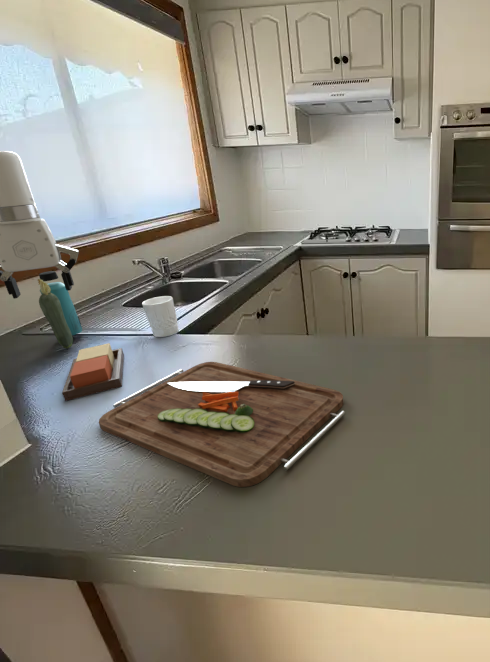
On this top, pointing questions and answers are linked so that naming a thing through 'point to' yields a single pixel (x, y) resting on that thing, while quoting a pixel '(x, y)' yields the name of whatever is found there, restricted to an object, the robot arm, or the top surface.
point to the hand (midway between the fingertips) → (43, 292)
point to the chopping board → (225, 420)
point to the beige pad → (96, 353)
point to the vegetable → (54, 315)
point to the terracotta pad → (91, 371)
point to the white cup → (161, 315)
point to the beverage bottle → (63, 301)
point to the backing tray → (112, 383)
